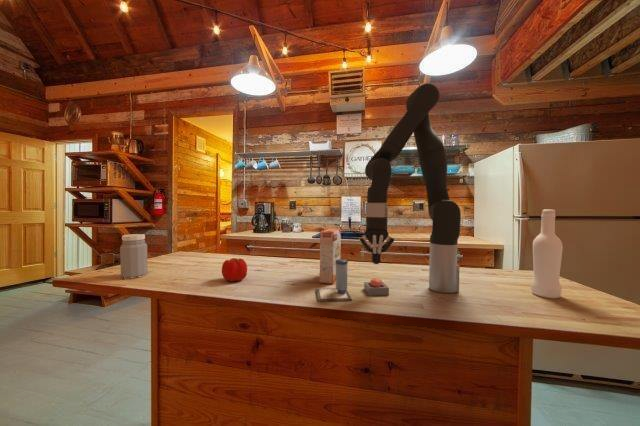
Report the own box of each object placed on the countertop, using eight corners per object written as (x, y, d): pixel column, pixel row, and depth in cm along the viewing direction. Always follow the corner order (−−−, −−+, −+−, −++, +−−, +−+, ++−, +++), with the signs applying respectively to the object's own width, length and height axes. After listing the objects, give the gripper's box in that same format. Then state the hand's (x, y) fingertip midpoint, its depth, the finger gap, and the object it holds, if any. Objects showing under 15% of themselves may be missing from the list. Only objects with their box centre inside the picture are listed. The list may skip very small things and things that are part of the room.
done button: (379, 285, 96) (379, 278, 96) (383, 288, 92) (383, 281, 92) (369, 285, 95) (369, 278, 95) (372, 289, 91) (372, 282, 91)
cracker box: (333, 284, 102) (333, 231, 101) (319, 283, 104) (319, 231, 103) (341, 275, 115) (341, 228, 114) (328, 274, 117) (328, 227, 116)
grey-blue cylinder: (346, 290, 93) (346, 259, 92) (348, 294, 89) (348, 261, 88) (334, 290, 93) (334, 259, 92) (336, 294, 88) (336, 262, 88)
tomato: (228, 276, 113) (228, 256, 113) (252, 277, 112) (252, 257, 112) (215, 283, 103) (215, 261, 103) (241, 284, 102) (241, 262, 101)
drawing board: (345, 289, 96) (345, 287, 96) (351, 300, 85) (351, 298, 85) (316, 290, 95) (316, 288, 95) (318, 301, 84) (318, 299, 84)
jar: (114, 278, 109) (113, 236, 108) (134, 272, 119) (133, 233, 118) (134, 279, 108) (133, 236, 107) (153, 273, 117) (152, 233, 117)
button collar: (382, 288, 97) (382, 281, 97) (388, 295, 90) (388, 288, 90) (364, 288, 97) (364, 282, 97) (369, 295, 90) (369, 288, 90)
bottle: (532, 289, 97) (534, 209, 95) (561, 295, 91) (565, 209, 90) (529, 294, 91) (531, 209, 90) (560, 301, 85) (563, 209, 84)
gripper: (391, 215, 97) (390, 261, 98) (356, 215, 96) (355, 261, 97) (398, 216, 89) (397, 266, 90) (360, 216, 88) (360, 266, 89)
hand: (375, 263), depth 93 cm, fingers closed
